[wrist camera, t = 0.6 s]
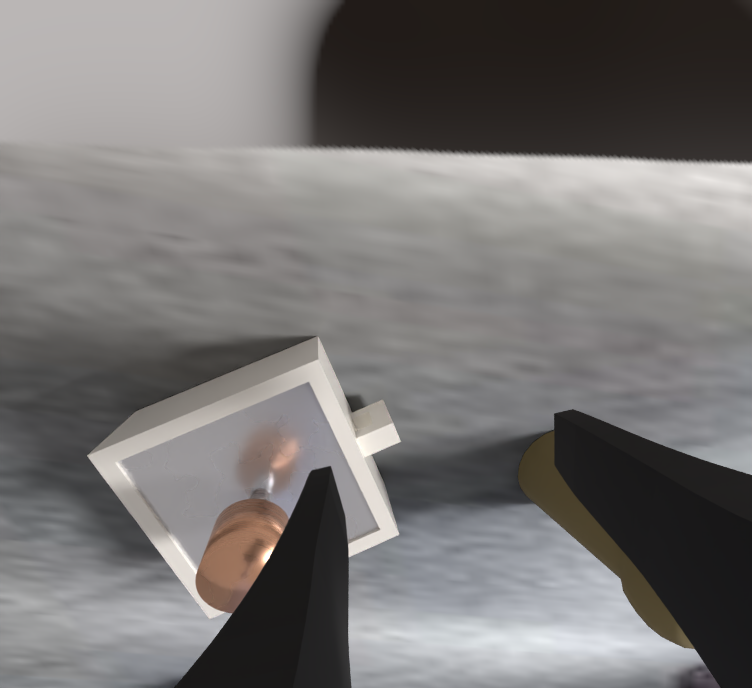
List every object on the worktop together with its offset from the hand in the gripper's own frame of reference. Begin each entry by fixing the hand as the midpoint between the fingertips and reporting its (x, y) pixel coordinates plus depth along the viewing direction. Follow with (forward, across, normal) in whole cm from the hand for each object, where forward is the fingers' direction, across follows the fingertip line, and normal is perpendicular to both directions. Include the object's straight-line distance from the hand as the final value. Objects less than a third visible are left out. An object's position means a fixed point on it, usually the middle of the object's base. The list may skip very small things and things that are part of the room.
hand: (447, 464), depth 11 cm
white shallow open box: (+10, +8, +5) cm, 14 cm away
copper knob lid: (+6, +8, +4) cm, 11 cm away
